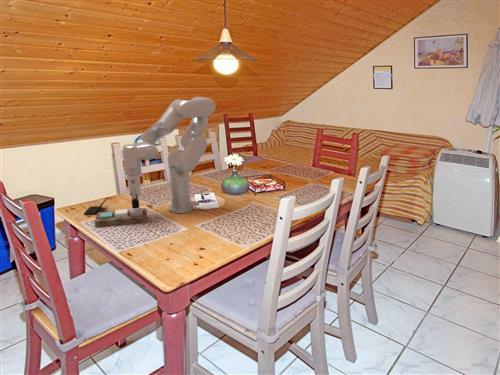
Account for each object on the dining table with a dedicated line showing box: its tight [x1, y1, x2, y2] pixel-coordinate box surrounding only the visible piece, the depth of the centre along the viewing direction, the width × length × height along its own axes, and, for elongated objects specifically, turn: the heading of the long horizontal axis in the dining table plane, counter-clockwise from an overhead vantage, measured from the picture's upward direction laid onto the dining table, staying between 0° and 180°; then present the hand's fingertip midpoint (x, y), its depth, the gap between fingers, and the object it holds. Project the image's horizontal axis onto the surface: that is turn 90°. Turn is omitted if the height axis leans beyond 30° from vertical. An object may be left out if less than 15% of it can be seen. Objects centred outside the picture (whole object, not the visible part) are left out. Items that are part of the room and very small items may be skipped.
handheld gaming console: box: [83, 198, 107, 216], centre depth 195 cm, size 12×7×10 cm
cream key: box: [114, 208, 129, 218], centre depth 182 cm, size 6×6×2 cm
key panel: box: [94, 208, 148, 228], centre depth 183 cm, size 23×12×3 cm, turn 104°
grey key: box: [130, 207, 144, 216], centre depth 184 cm, size 6×6×2 cm
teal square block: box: [99, 211, 113, 219], centre depth 181 cm, size 6×6×2 cm
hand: (135, 207), depth 183 cm, fingers closed
